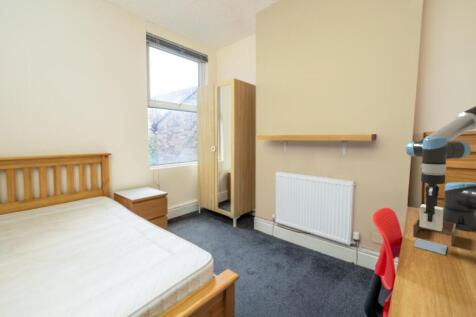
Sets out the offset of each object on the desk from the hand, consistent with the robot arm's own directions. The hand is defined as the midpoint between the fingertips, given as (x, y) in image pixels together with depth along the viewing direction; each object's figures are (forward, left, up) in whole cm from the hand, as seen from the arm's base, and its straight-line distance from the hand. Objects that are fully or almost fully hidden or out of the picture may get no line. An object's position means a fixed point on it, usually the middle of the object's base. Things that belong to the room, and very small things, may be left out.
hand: (430, 226), depth 92 cm
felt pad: (0, 0, -9) cm, 9 cm away
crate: (-12, -8, -9) cm, 17 cm away
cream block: (0, 0, 0) cm, 0 cm away
